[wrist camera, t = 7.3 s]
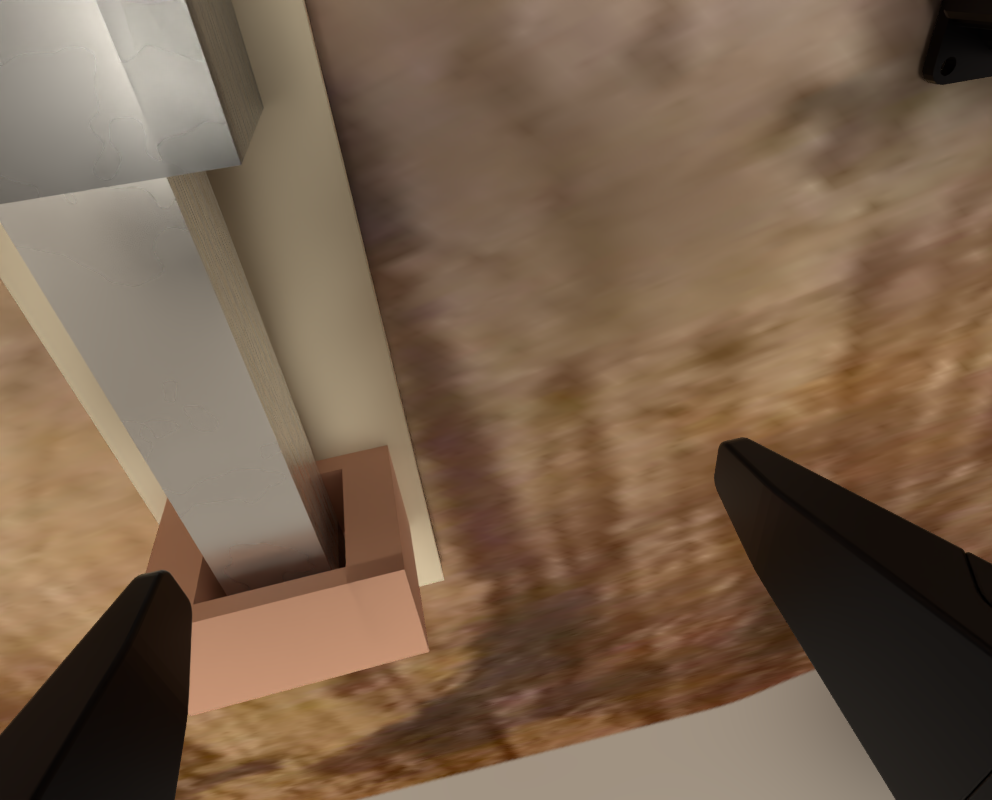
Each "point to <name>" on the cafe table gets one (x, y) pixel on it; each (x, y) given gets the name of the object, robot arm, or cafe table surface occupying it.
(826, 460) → the cafe table surface
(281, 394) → the silver rectangular bar
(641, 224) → the cafe table surface
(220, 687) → the terracotta socket
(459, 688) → the cafe table surface
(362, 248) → the base board
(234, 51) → the grey sleeve
